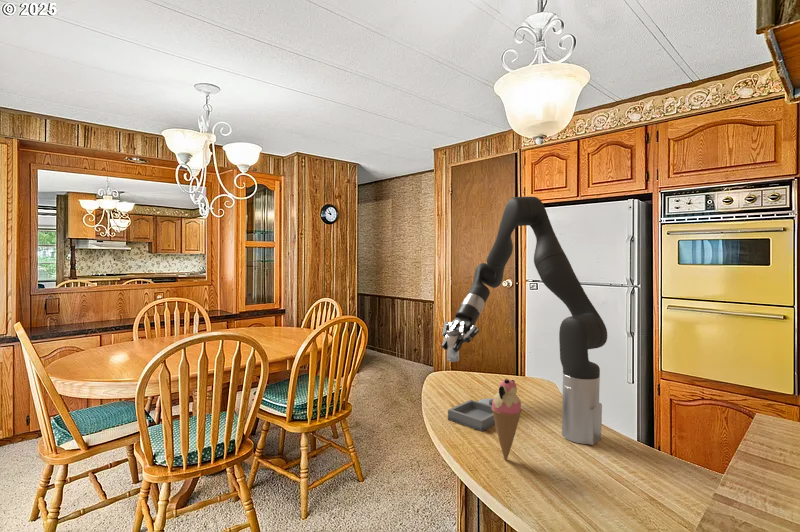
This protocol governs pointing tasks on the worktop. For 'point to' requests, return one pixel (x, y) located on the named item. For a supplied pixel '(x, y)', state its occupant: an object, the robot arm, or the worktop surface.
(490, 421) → the tray
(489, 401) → the pot lid
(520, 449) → the worktop surface
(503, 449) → the ice cream cone
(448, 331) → the salt shaker
